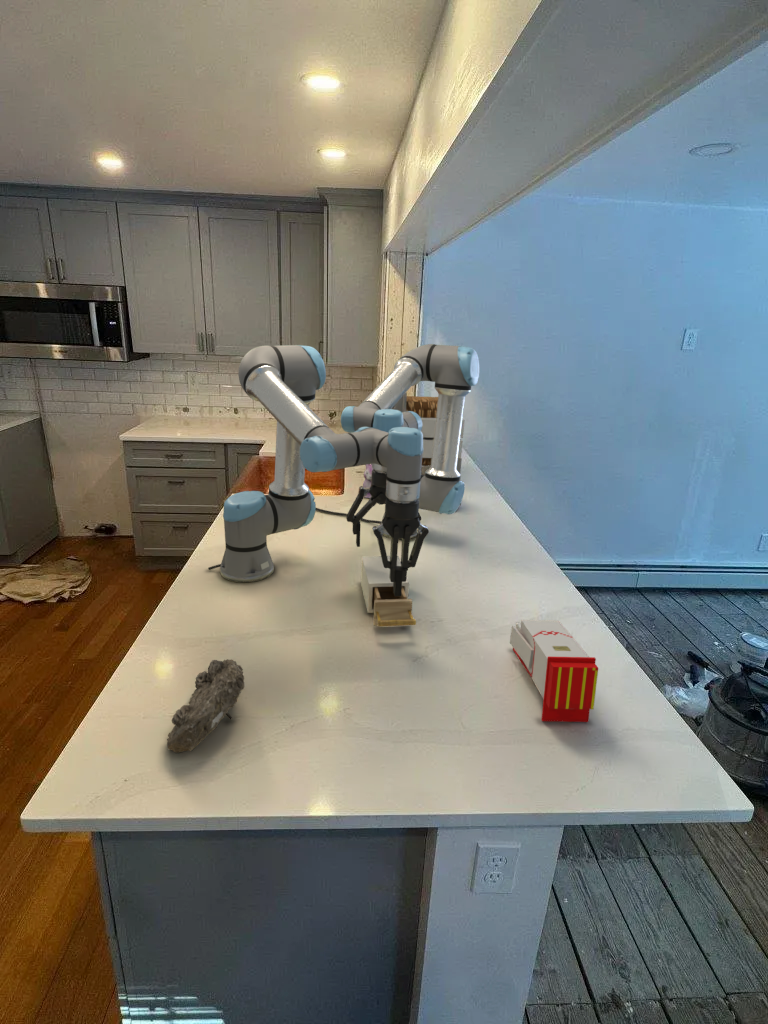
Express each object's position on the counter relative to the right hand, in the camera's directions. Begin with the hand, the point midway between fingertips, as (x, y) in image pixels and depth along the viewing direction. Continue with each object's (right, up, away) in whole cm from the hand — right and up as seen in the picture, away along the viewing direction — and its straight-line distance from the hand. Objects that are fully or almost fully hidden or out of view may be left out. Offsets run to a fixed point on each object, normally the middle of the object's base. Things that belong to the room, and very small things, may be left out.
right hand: (382, 544), depth 155 cm
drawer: (+2, -17, -11) cm, 20 cm away
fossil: (-32, -30, -47) cm, 65 cm away
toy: (+35, -28, -32) cm, 55 cm away
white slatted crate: (+18, +28, +120) cm, 124 cm away
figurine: (-5, +16, +84) cm, 86 cm away
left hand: (+3, -10, -22) cm, 25 cm away
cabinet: (0, -14, 0) cm, 14 cm away
